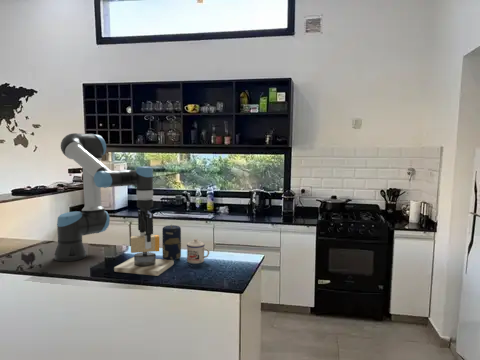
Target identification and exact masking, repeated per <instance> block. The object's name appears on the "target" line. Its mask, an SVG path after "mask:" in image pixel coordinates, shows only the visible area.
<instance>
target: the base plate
mask: <svg viewBox="0 0 480 360" xmlns="http://www.w3.org/2000/svg"><path fill="white" fill-rule="evenodd" d="M174 261H175V260H166V259H164V258H162V259H161V258H156V263H155V264H154V265H151V266H136V265H135V264H134V256H133V257H130V258H129V259H127V260H125V261H123V262H122V263H120V264H118V265H116V266H114V267H113V270H114V272H116V273H124V274H125V273H126V274H134V275H135V274H137V275H143V276H144V275H146V276H155V277H156V276H157V277H158V276H160V275H161V274H163V273H164V272H166V271H167V270H168V269H170V268H172V266H173V265H174V264H175V262H174Z"/></svg>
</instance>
